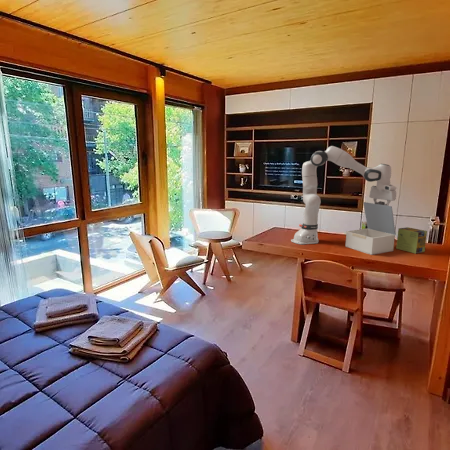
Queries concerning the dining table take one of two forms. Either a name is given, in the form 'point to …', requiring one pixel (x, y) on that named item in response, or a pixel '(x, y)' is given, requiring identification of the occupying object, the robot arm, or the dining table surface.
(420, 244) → the protein box
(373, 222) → the flap
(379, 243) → the carton
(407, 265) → the dining table surface
